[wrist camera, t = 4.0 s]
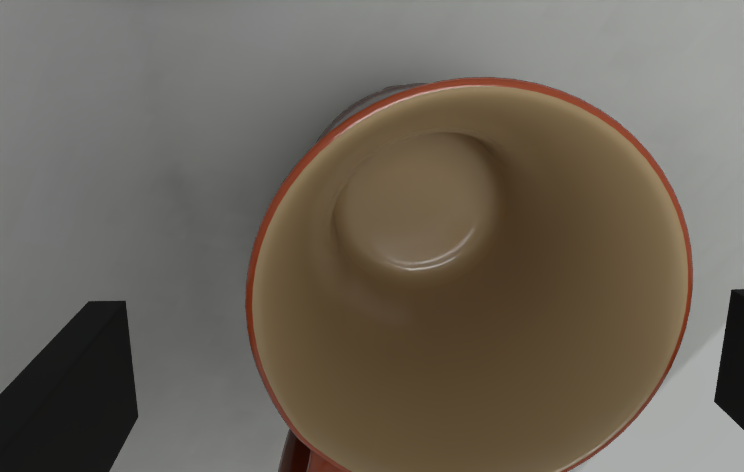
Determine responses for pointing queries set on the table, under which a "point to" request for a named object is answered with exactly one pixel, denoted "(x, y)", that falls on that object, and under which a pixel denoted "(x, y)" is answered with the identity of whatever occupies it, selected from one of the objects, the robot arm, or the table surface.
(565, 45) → the table surface
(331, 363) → the mug
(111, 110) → the table surface
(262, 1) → the table surface
